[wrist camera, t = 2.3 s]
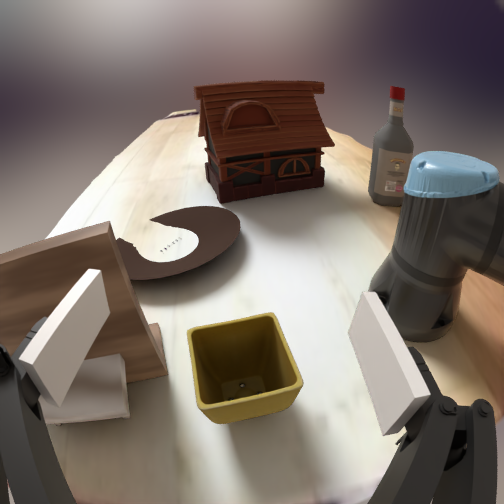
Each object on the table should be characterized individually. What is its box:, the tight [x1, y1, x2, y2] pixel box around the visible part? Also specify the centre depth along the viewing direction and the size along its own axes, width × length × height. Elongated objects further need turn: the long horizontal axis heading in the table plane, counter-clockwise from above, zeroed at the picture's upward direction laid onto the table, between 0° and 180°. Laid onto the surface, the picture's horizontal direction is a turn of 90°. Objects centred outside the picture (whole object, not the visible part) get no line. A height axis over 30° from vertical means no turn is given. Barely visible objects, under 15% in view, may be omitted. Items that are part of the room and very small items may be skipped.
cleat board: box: [0, 221, 168, 426], centre depth 23 cm, size 15×22×20 cm
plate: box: [116, 206, 241, 280], centre depth 54 cm, size 28×28×4 cm
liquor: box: [368, 86, 413, 207], centre depth 60 cm, size 9×9×30 cm
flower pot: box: [187, 312, 303, 424], centre depth 26 cm, size 9×9×9 cm
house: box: [194, 81, 335, 204], centre depth 72 cm, size 35×28×29 cm
